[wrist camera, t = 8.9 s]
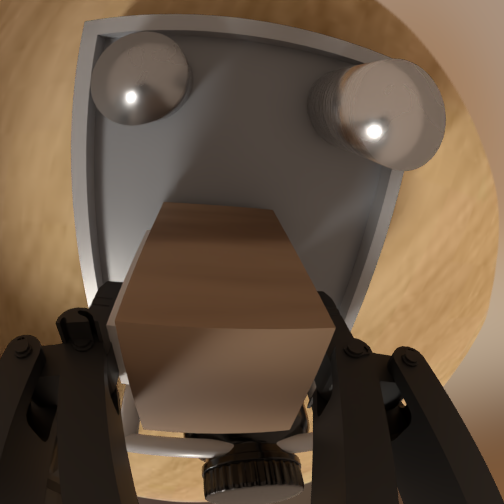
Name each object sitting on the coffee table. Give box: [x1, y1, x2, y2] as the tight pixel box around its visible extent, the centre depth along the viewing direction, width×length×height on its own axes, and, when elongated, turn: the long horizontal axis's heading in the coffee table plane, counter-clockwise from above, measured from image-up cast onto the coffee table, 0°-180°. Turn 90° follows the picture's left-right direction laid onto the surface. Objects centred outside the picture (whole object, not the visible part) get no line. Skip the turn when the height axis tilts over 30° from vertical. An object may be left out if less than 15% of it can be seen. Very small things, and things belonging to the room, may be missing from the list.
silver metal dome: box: [91, 31, 193, 126], centre depth 10 cm, size 4×4×3 cm
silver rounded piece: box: [307, 59, 446, 171], centre depth 10 cm, size 4×4×5 cm
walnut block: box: [115, 202, 336, 434], centre depth 11 cm, size 5×5×8 cm
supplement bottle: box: [184, 402, 309, 504], centre depth 15 cm, size 7×7×12 cm
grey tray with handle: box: [71, 14, 404, 458], centre depth 12 cm, size 16×18×10 cm
